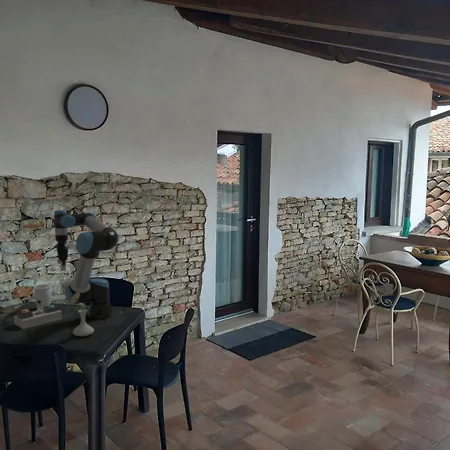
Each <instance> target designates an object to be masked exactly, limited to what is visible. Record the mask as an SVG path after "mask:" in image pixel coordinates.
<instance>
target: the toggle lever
mask: <svg viewBox="0 0 450 450" xmlns="http://www.w3.org/2000/svg"><path fill="white" fill-rule="evenodd" d="M37 303H38V304H37V305H36V311H37V312H40V303H41V300H38V301H37Z"/></svg>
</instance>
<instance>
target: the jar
mask: <svg viewBox="0 0 450 450" xmlns="http://www.w3.org/2000/svg"><path fill="white" fill-rule="evenodd" d="M51 287H52V285H50V284H38V285H35V286H33V289H34V292H33V293H34V295H33V296H34V297H33V298H34V300H35V301H34V302H35V305H36V306H37V304H38V303H37V301H38V300H41V303H40V310H43V307H44V306H49V305H51V301H52V289H51Z"/></svg>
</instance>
